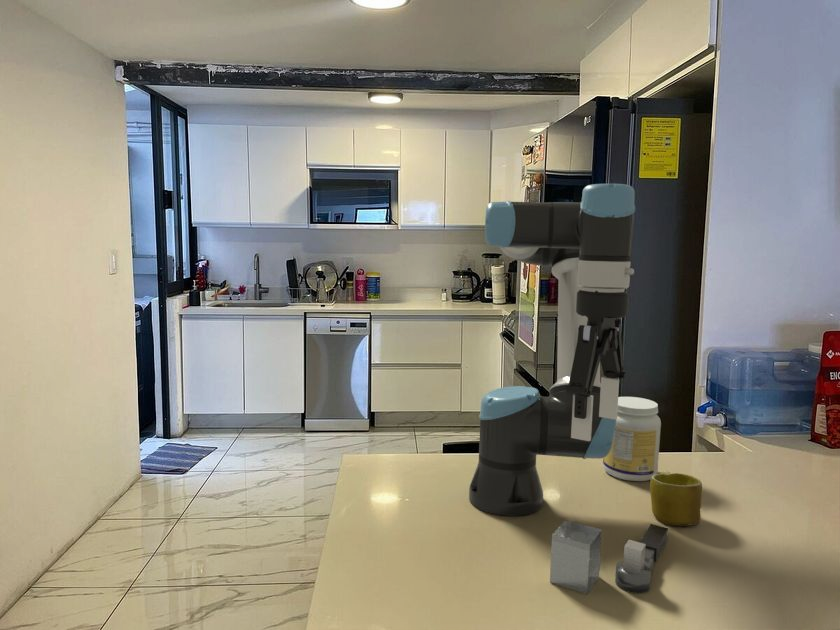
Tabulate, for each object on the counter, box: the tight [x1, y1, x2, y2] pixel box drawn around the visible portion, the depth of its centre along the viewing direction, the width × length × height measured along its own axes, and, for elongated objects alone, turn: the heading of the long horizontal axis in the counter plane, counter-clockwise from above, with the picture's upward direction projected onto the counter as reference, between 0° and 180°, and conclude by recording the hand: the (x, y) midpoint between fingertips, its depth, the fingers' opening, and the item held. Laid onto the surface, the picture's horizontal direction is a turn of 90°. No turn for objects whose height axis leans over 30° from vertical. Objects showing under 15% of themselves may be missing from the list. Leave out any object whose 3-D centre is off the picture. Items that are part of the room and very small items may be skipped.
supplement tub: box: [602, 396, 662, 482], centre depth 145 cm, size 12×12×17 cm
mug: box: [649, 470, 703, 527], centre depth 123 cm, size 12×10×10 cm
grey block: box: [549, 519, 603, 595], centre depth 99 cm, size 6×6×8 cm
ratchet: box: [614, 523, 669, 594], centre depth 105 cm, size 21×5×6 cm, turn 147°
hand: (595, 428), depth 96 cm, fingers open, 13 cm apart
